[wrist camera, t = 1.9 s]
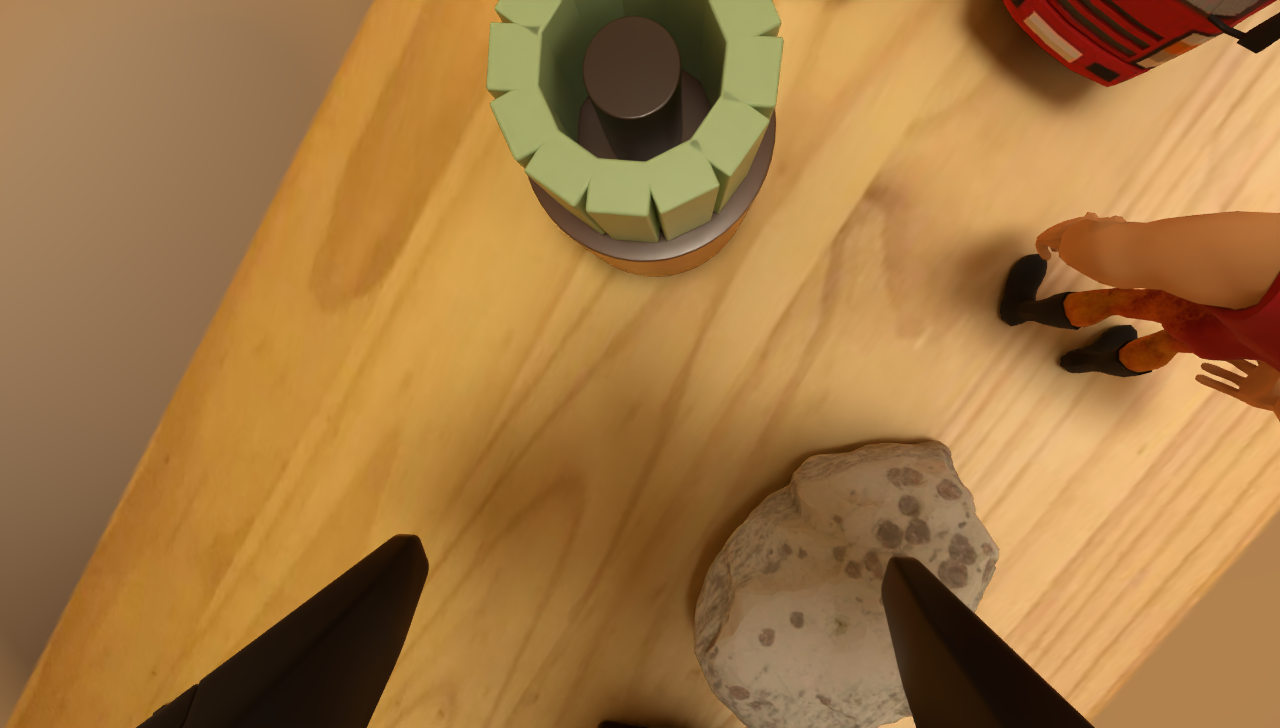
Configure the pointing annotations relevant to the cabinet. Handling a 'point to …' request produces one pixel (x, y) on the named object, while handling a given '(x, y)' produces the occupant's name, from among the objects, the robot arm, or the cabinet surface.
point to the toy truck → (1134, 31)
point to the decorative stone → (834, 585)
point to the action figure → (1166, 295)
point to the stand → (649, 141)
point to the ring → (554, 92)
